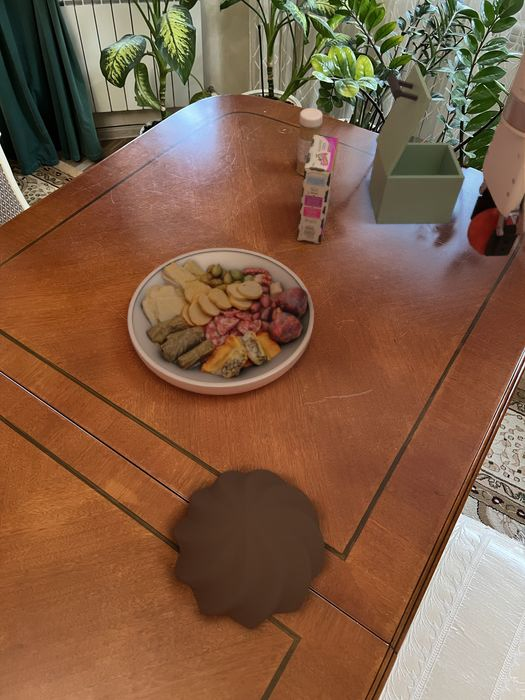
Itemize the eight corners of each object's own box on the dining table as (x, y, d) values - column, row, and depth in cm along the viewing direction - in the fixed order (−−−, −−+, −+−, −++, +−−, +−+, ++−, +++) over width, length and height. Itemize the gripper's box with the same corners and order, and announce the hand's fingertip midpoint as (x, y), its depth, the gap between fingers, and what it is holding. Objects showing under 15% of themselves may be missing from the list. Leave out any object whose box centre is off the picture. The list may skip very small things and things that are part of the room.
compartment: (436, 188, 122) (450, 142, 113) (448, 223, 115) (465, 177, 106) (368, 188, 121) (377, 142, 113) (376, 224, 114) (387, 177, 106)
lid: (418, 65, 101) (390, 56, 100) (432, 99, 94) (402, 90, 92) (379, 140, 112) (354, 134, 111) (389, 176, 105) (362, 169, 104)
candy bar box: (321, 245, 110) (331, 172, 97) (296, 241, 110) (302, 168, 97) (329, 209, 117) (340, 136, 104) (305, 205, 117) (312, 132, 104)
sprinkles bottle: (317, 166, 126) (324, 108, 115) (315, 178, 123) (321, 120, 112) (297, 163, 126) (301, 105, 116) (294, 175, 123) (298, 117, 113)
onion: (456, 238, 80) (473, 191, 74) (498, 239, 80) (518, 191, 74) (464, 267, 77) (482, 220, 70) (507, 268, 77) (530, 221, 70)
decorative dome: (165, 629, 68) (155, 607, 60) (180, 474, 80) (172, 439, 72) (328, 629, 68) (338, 607, 60) (318, 475, 80) (325, 440, 72)
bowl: (134, 416, 86) (125, 386, 79) (130, 276, 104) (123, 243, 98) (329, 392, 89) (335, 362, 83) (293, 260, 107) (295, 227, 101)
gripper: (607, 156, 57) (537, 283, 71) (547, 69, 67) (497, 195, 82) (532, 157, 57) (477, 285, 71) (484, 71, 67) (445, 197, 81)
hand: (488, 236), depth 76 cm, fingers closed on onion, 5 cm apart
